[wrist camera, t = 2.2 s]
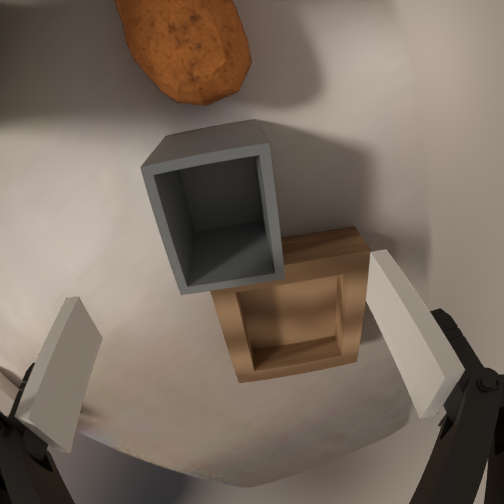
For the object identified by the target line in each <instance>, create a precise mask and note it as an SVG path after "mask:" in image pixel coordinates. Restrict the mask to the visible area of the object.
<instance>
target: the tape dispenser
mask: <svg viewBox="0 0 504 504" xmlns="http://www.w3.org/2000/svg"><path fill="white" fill-rule="evenodd" d="M18 391H19V389H18V388H17V387H16V386H15V385H14V384H13V383H12V382H10V381H9V380H8V379H7V378H6V377H5V376H4V375H3V374H2V373H1V372H0V411H1V412H2V413H3V414H4V415H9V414H10V411H11V409H12V406H13V403H14V401H15V398H16V395H17V393H18Z"/></svg>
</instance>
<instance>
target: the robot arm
mask: <svg viewBox="0 0 504 504" xmlns="http://www.w3.org/2000/svg"><path fill="white" fill-rule="evenodd" d="M366 302H367V304H368V306H369V308H370V310H371V312H372V314H373V316H374V318H375V320H376V322H377V324H378V326H379V328H380V330H381V333H382V335H383V337H384V339H385V341H386V343H387V345H388V347H389V349H390V352H391V354H392V356H393V358H394V360H395V363H396V365H397V367H398V369H399V371H400V374H401V376H402V378H403V380H404V383H405V385H406V387H407V390H408V392H409V394H410V397H411V399H412V401H413V404H414V406H415V409H416V411H417V413H418V416H419V418H420V420H422V419H425V418H428V417H430V416H433V415H435V414H438V413H439V411H440V410H441V408H442V406H444V408H445V410H446V412H447V413H446V415H445V416H444V417H443V419H442V420H441V421H440V423H439V425H438V426H440V427H441V429H440V432H439V435H438V438H437V440H436V443H435V446H434V448H433V451H432V454H431V456H430V459H429V461H428V463H427V466H426V468H425V471H424V473H423V475H422V477H421V480H420V482H419V484H418V486H417V488H416V491H415V493H414V495H413V497H412V499H411V501H410V503H409V504H473V502H474V500H475V497H476V494H477V491H478V489H479V486H480V482H481V480H482V476H483V473H484V470H485V467H486V463H487V460H488V470H487V482H486V491H485V498H484V504H504V375H499V374H498V373H497V372H495V371H494V370H492V369H490V368H484V367H483V365H482V364H481V362H480V361H479V359H478V357H477V356H476V354H475V353H474V351H473V349H472V348H471V346H470V345H469V343H468V341H467V340H466V338H465V337H464V336H463V334H462V332H461V331H460V329H459V328H458V327H457V325H456V323H455V322H454V320H453V319H452V317H451V316H450V315H449V314H447V313H446V312H444V311H443V310H442V309H437V310H434V311H429V310H428V308H427V307H426V305H425V304H424V302H423V301H422V299H421V298H420V296H419V295H418V293H417V292H416V290H415V289H414V287H413V286H412V284H411V283H410V281H409V280H408V279H407V277H406V276H405V274H404V273H403V271H402V270H401V269H400V267H399V266H398V264H397V263H396V262H395V260H394V259H393V258H392V256H391V255H390V254H389V252H388V251H387V249H385V250H379V251H373V252H370V263H369V274H368V284H367V294H366ZM102 338H103V337H102V336H101V334H100V332H99V331H98V329H97V327H96V326H95V324H94V322H93V321H92V319H91V317H90V316H89V314H88V312H87V310H86V309H85V307H84V305H83V303H82V301H81V300H80V298H79V297H72V298H66V300H65V302H64V304H63V306H62V308H61V310H60V312H59V314H58V316H57V318H56V320H55V322H54V324H53V326H52V328H51V330H50V332H49V334H48V336H47V338H46V340H45V342H44V345H43V347H42V349H41V351H40V353H39V356H38V358H37V360H36V363H33V364H32V365H31V366H30V367H29V369H28V370H27V371H26V373H25V376H24V378H23V380H22V382H23V383H21V385H20V388H19V391H18V393H17V395H16V398H15V401H14V403H13V406H12V409H11V411H10V414H9V417H8V418H7V417H6V416H5V415H4V414H3V413H2V412H1V411H0V504H75V503H74V501H73V499H72V497H71V495H70V494H69V492H68V490H67V488H66V486H65V484H64V482H63V480H62V478H61V476H60V474H59V471H58V469H57V467H56V465H55V463H54V460H53V458H52V456H51V454H50V453H49V451H47V447H48V445H49V446H51V447H52V448H53V449H54V450H56V451H59V452H65V453H70V452H71V447H72V443H73V438H74V434H75V430H76V426H77V422H78V418H79V414H80V411H81V407H82V403H83V399H84V396H85V392H86V389H87V385H88V382H89V379H90V375H91V372H92V369H93V365H94V362H95V359H96V356H97V353H98V350H99V347H100V344H101V341H102ZM441 425H442V426H441Z"/></svg>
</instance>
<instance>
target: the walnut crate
mask: <svg viewBox="0 0 504 504" xmlns="http://www.w3.org/2000/svg"><path fill="white" fill-rule="evenodd" d="M281 243H282V253H283V262H284V272H285V279H282V280H276V281H270V282H263V283H257V284H251V285H245V286H238V287H232V288H225V289H219V290H212V291H211V295H212V298H213V301H214V305H215V308H216V312H217V315H218V318H219V322H220V325H221V328H222V331H223V335H224V338H225V341H226V344H227V348H228V351H229V354H230V357H231V360H232V363H233V366H234V369H235V373H236V376H237V379H238V382H239V383H244V382H252V381H259V380H266V379H272V378H278V377H284V376H290V375H296V374H301V373H307V372H312V371H317V370H322V369H327V368H332V367H336V366H341V365H345V364H349V363H354V362H357V357H358V351H359V345H360V339H361V333H362V326H363V319H364V311H365V304H366V294H367V284H368V274H369V263H370V252H371V249H370V248H369V246H368V245H367V243H366V242H365V241H364V239H363V238H362V236H361V235H360V233H359V232H358V231H357V229H356V228H355V227H350V228H344V229H337V230H331V231H325V232H318V233H312V234H305V235H299V236H293V237H287V238H281Z"/></svg>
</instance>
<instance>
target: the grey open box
mask: <svg viewBox="0 0 504 504" xmlns="http://www.w3.org/2000/svg"><path fill="white" fill-rule="evenodd" d="M140 168H141V171H142V175H143V178H144V182H145V185H146V189H147V192H148V196H149V199H150V202H151V206H152V209H153V212H154V216H155V219H156V222H157V225H158V228H159V232H160V235H161V238H162V241H163V244H164V247H165V250H166V253H167V256H168V259H169V262H170V265H171V268H172V271H173V274H174V276H175V279H176V282H177V285H178V288H179V290H180V293H181V295H185V294H191V293H198V292H205V291H212V290H219V289H225V288H232V287H238V286H245V285H251V284H257V283H263V282H270V281H276V280H282V279H285V272H284V262H283V253H282V243H281V234H280V225H279V216H278V207H277V199H276V190H275V182H274V174H273V166H272V158H271V150H270V143H269V141H268V139H267V137H266V136H265V134H264V132H263V131H262V129H261V127H260V125H259V124H258V122H257V120H256V119H255V120H248V121H241V122H235V123H229V124H223V125H217V126H212V127H207V128H201V129H196V130H191V131H187V132H182V133H177V134H173V135H168V136H165V138H164V139H163V140H162V141H161V142H160V144H159V145H158V146H157V147H156V148H155V150H154V151H153V152H152V153H151V155H150V156H149V157H148V158H147V160H146V161H145V162H144V163H143V165H142V166H141V167H140Z"/></svg>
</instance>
